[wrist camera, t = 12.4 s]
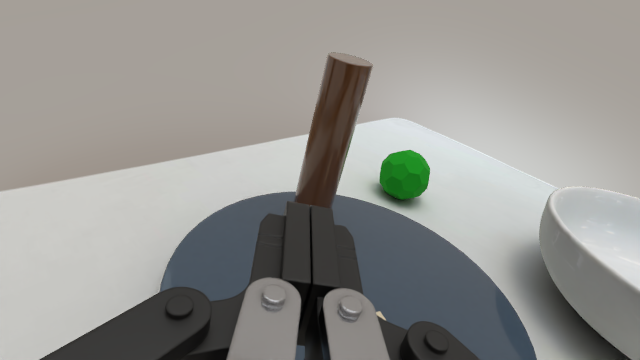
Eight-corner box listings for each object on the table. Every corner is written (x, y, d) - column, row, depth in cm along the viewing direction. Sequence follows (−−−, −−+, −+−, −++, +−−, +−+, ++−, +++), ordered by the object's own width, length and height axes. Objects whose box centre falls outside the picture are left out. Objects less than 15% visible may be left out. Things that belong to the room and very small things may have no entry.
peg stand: (612, 422, 21) (818, 225, 14) (197, 688, 10) (288, 397, 4) (389, 199, 37) (440, 62, 31) (142, 215, 27) (144, 13, 21)
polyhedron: (365, 191, 38) (379, 149, 36) (384, 177, 42) (398, 138, 40) (410, 214, 36) (428, 171, 34) (426, 197, 40) (443, 157, 38)
